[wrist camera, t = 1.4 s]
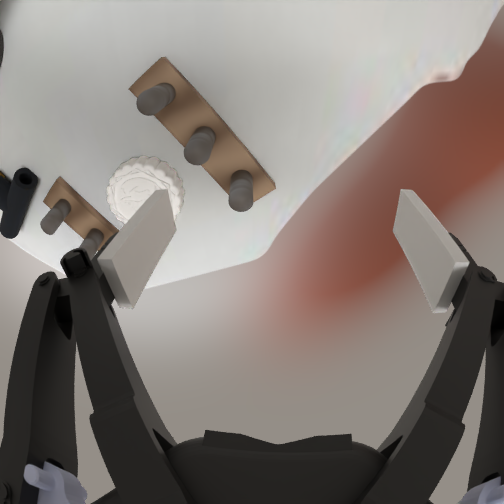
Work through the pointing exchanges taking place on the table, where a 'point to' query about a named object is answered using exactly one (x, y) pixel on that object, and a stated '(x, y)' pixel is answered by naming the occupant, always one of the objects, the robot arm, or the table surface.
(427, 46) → the table surface
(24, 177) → the pipe connector
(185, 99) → the rails
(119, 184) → the mooncake
